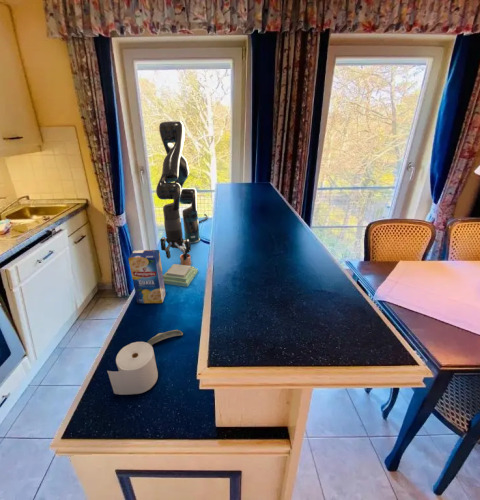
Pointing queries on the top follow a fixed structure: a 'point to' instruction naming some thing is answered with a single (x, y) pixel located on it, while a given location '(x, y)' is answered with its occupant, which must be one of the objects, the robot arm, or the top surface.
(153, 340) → the ceramic fragment
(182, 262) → the terracotta cup
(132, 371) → the toilet tissue
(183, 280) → the light green stepped block
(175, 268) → the beige square slab
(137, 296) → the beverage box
